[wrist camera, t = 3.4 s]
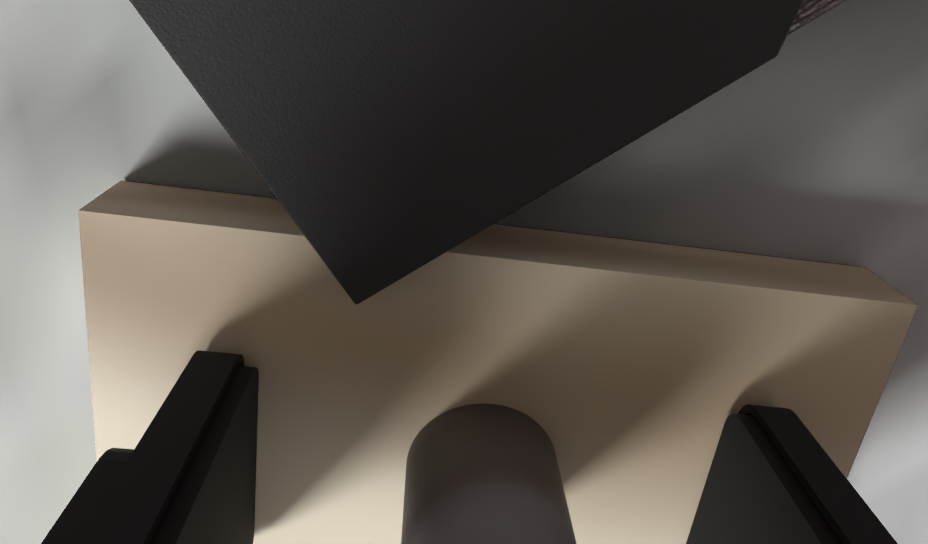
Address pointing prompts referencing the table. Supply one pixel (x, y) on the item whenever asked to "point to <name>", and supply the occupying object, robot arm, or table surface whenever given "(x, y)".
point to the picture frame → (448, 102)
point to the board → (476, 368)
